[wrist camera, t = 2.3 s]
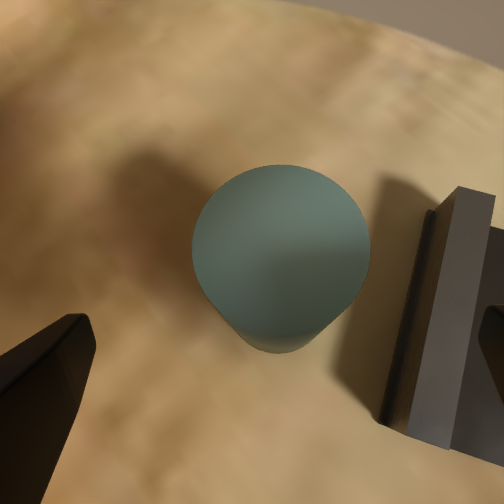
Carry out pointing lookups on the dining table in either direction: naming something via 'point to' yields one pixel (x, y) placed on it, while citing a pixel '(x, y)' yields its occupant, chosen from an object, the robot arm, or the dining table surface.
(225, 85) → the dining table surface
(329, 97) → the dining table surface
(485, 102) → the dining table surface
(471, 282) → the rail dock
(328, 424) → the dining table surface
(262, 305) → the teal peg
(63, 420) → the robot arm
